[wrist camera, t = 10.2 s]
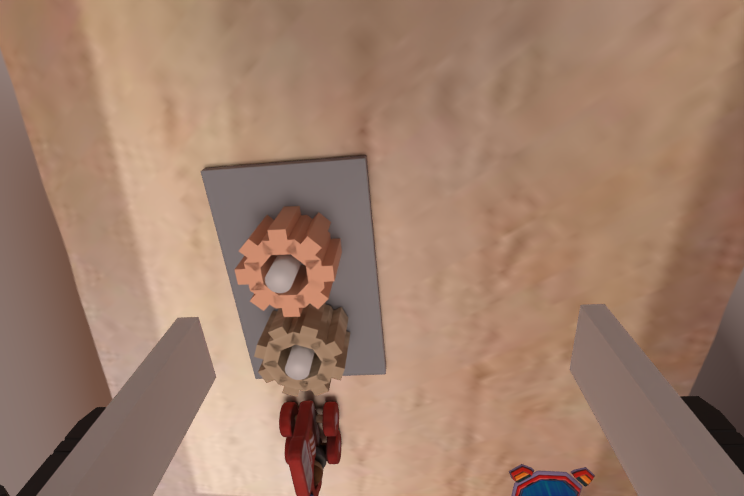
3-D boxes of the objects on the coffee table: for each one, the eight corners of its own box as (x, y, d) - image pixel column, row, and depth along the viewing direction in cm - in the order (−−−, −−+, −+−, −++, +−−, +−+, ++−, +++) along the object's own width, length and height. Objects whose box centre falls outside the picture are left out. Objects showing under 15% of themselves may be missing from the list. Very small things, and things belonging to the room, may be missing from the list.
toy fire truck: (295, 453, 59) (276, 530, 50) (282, 386, 54) (259, 458, 44) (344, 454, 58) (334, 532, 49) (336, 386, 53) (324, 458, 44)
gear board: (205, 167, 42) (162, 195, 34) (366, 155, 40) (359, 180, 33) (258, 372, 53) (235, 427, 45) (386, 367, 51) (384, 424, 44)
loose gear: (247, 208, 42) (225, 232, 37) (336, 204, 41) (328, 227, 36) (263, 286, 46) (245, 318, 40) (345, 283, 45) (338, 315, 40)
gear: (255, 311, 47) (237, 345, 42) (324, 280, 45) (314, 312, 39) (297, 368, 50) (285, 407, 45) (364, 342, 48) (360, 379, 43)
